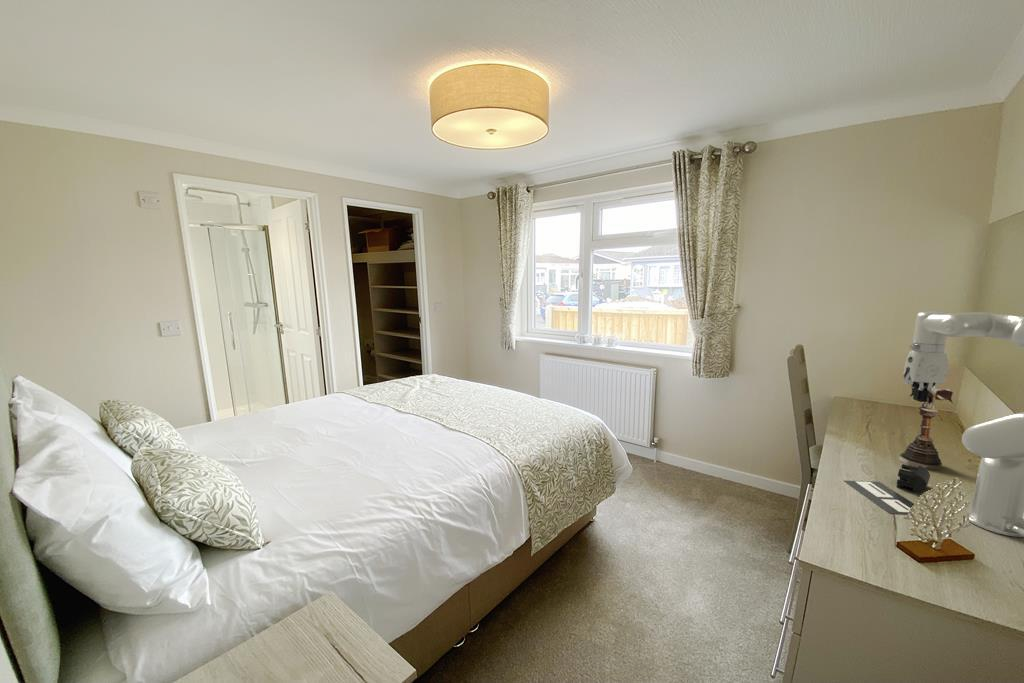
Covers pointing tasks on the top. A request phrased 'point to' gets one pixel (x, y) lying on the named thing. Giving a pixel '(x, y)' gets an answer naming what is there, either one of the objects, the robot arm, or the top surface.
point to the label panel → (878, 499)
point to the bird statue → (926, 434)
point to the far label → (874, 489)
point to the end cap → (913, 478)
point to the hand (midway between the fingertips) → (919, 400)
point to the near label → (897, 505)
